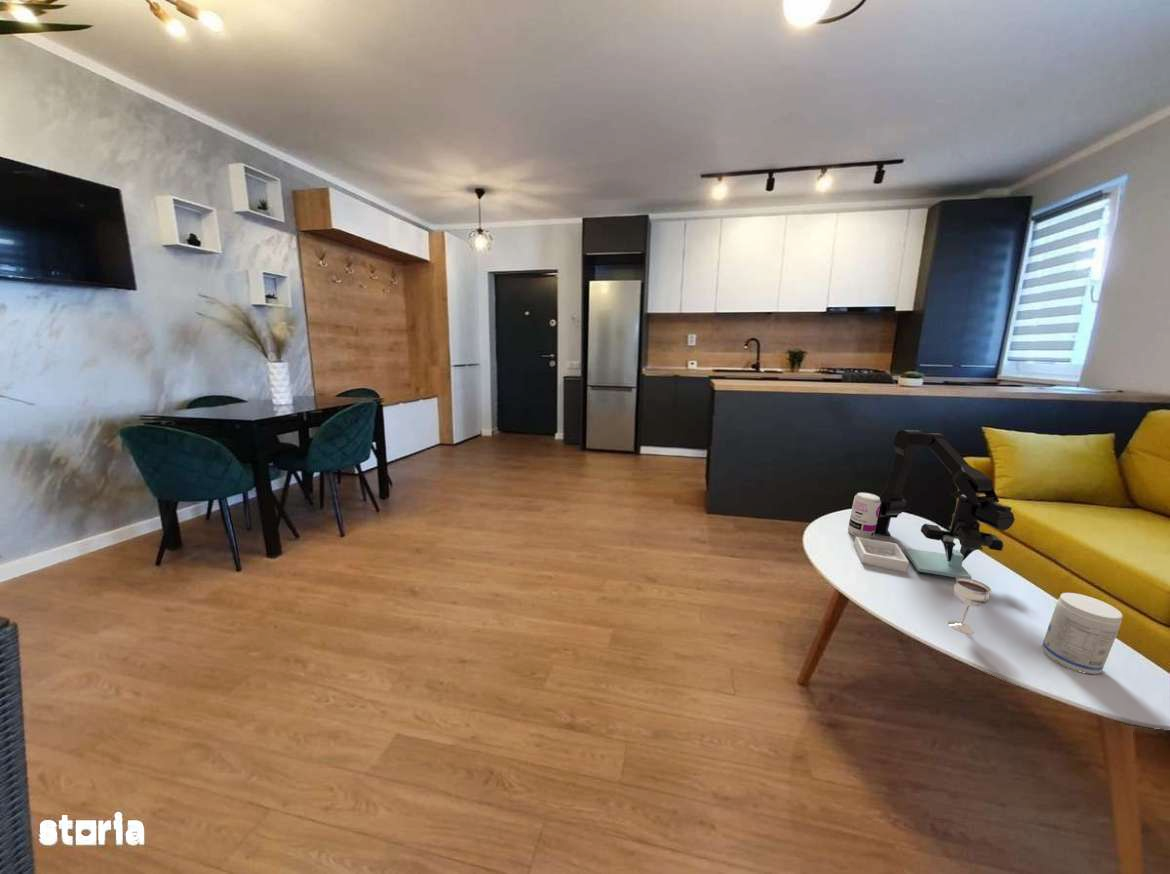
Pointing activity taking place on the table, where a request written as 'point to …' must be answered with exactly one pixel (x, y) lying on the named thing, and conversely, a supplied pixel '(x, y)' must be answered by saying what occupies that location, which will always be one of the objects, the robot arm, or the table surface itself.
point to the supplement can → (864, 515)
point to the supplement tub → (1081, 632)
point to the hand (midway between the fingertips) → (953, 561)
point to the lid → (938, 563)
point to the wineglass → (969, 599)
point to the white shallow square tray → (880, 554)
